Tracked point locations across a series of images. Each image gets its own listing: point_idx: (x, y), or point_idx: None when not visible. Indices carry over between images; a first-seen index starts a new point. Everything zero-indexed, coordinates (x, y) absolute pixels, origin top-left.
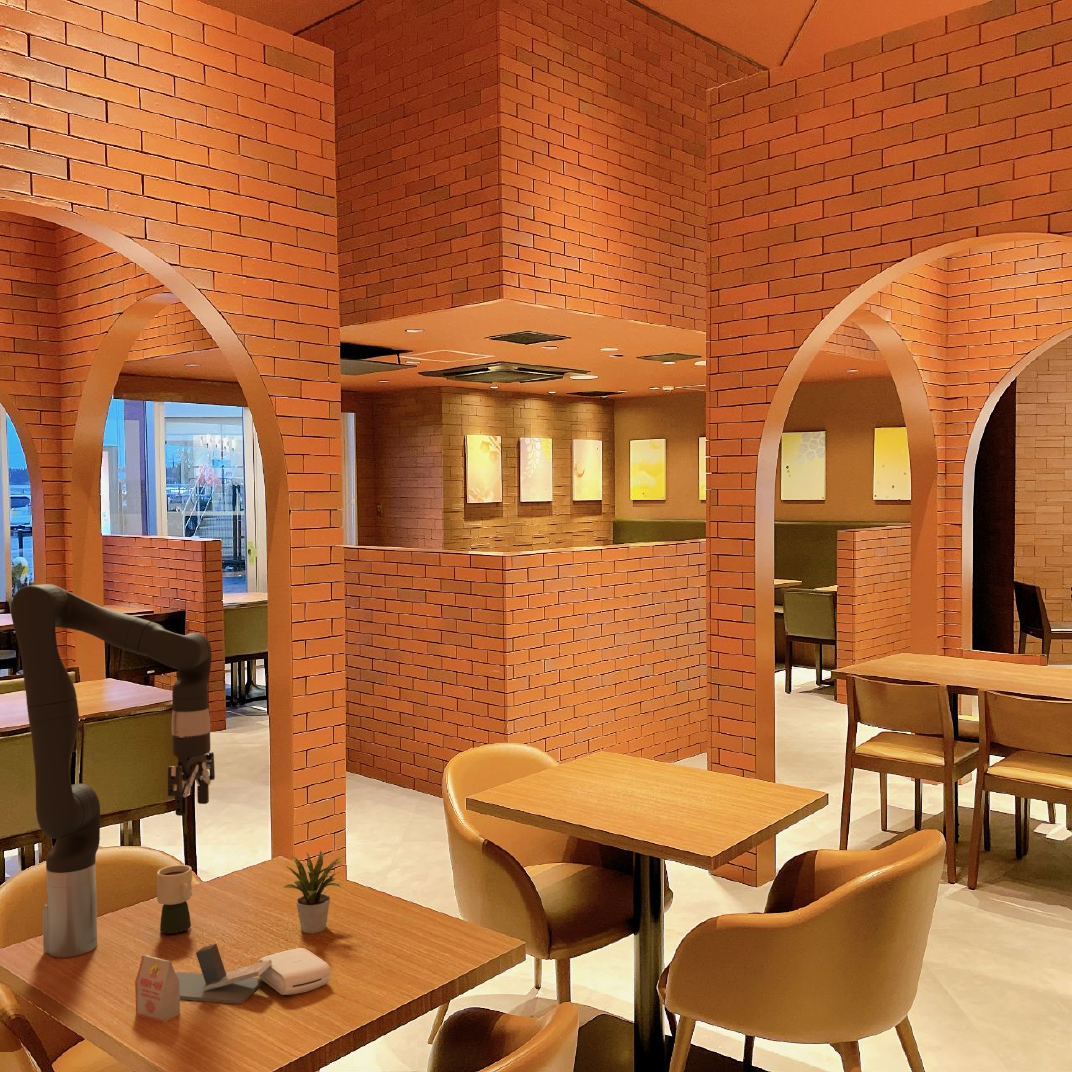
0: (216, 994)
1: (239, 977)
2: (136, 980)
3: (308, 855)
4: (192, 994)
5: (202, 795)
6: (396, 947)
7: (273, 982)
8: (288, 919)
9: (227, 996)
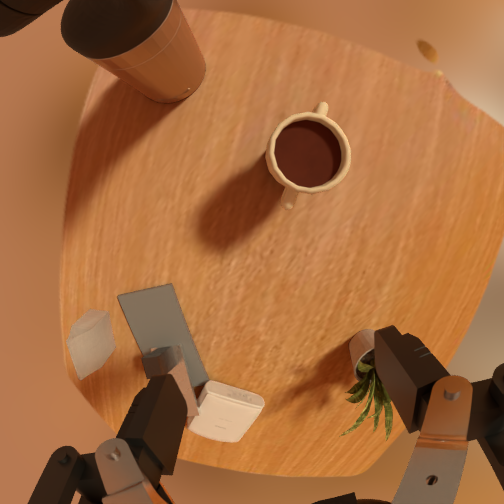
0: None
1: None
2: (71, 327)
3: None
4: (141, 341)
5: (390, 378)
6: (335, 431)
7: None
8: (383, 295)
9: None
